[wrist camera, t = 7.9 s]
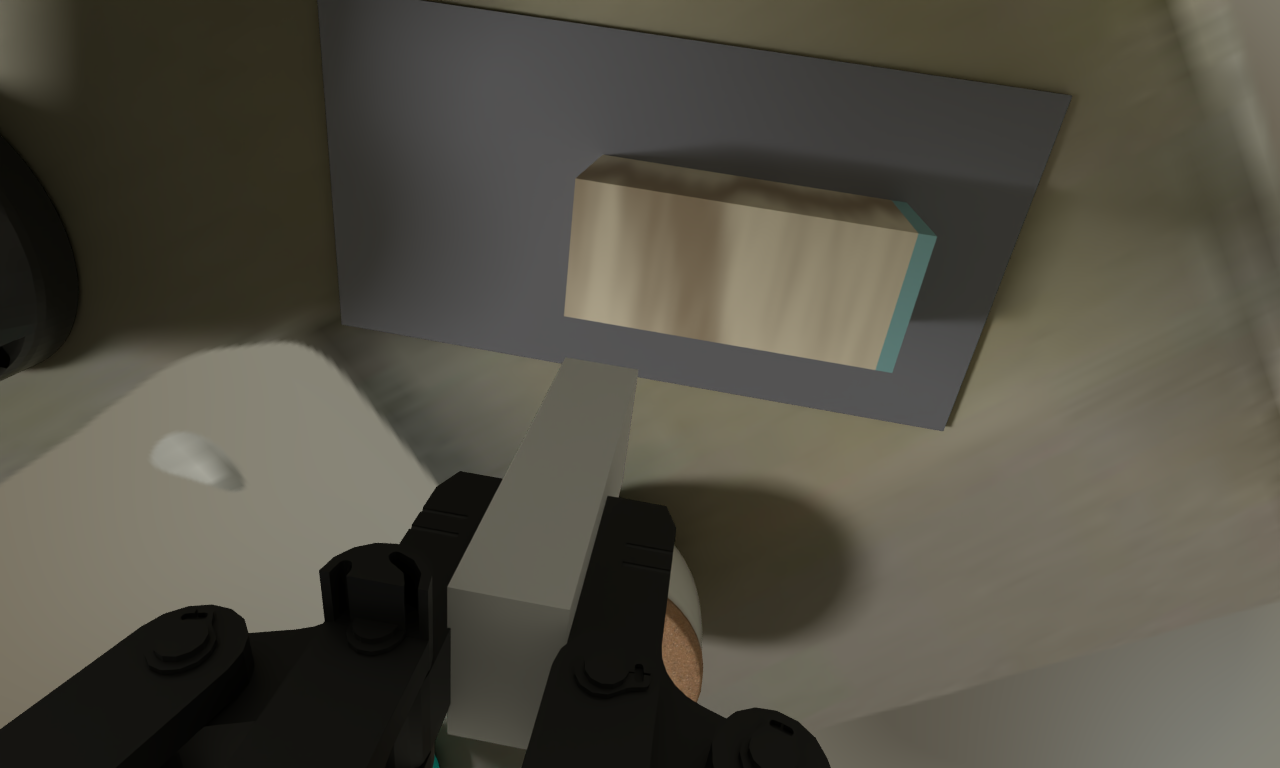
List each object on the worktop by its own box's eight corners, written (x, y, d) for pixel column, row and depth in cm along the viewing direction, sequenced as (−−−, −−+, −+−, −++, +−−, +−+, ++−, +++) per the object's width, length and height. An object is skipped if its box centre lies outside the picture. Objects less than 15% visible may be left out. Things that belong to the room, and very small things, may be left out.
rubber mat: (345, 321, 34) (341, 324, 33) (321, -15, 27) (316, -15, 27) (941, 426, 32) (943, 431, 31) (1067, 94, 25) (1072, 95, 25)
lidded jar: (739, 508, 35) (736, 656, 27) (675, 651, 40) (656, 812, 32) (535, 443, 35) (469, 571, 27) (496, 593, 40) (431, 740, 32)
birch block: (564, 316, 26) (892, 373, 25) (575, 178, 24) (937, 236, 23) (590, 274, 30) (870, 321, 30) (602, 154, 28) (906, 202, 27)
